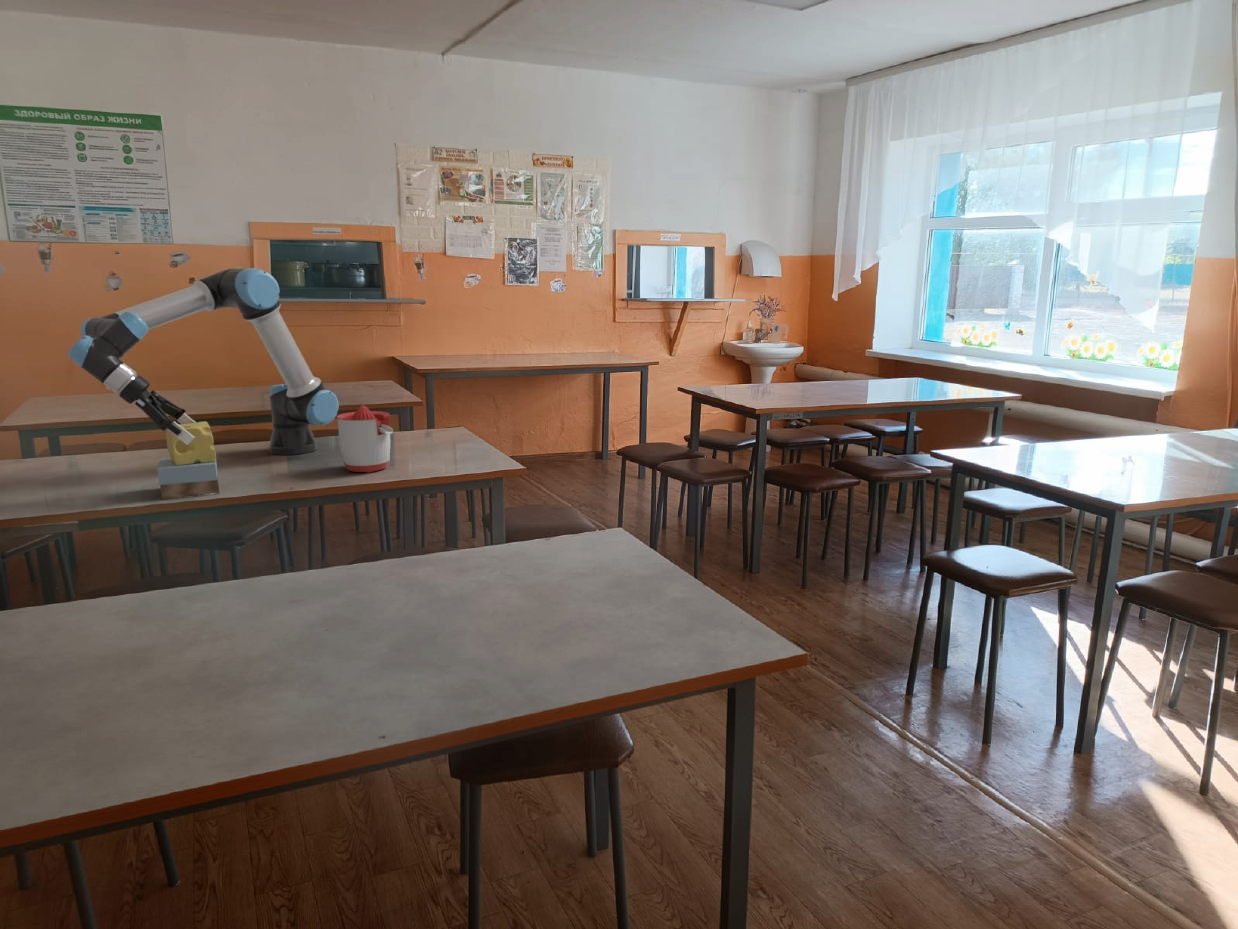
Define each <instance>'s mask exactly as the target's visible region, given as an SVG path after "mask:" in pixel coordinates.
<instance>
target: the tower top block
mask: <svg viewBox="0 0 1238 929" xmlns="http://www.w3.org/2000/svg"><path fill="white" fill-rule="evenodd" d="M156 470H157V476H158V477H157V478H158V485H159V486H160V485H167V484H178V483H189V482H200V481H212V480H217V476H218V464H217V460H216V461H215V462H206V463H201V462H196V463H193V464H186V465H175V463H174V462H173V461H172V460H171V457H164V458H160V459H159V463H158V466H157V469H156Z"/></svg>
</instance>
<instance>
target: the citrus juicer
mask: <svg viewBox="0 0 1238 929" xmlns="http://www.w3.org/2000/svg"><path fill="white" fill-rule="evenodd" d="M336 419H337V427H338V430H337V431H338V444H339V450H340V453H341V454H340V455H341V458H342V460H343V464H344V465H345V468H346V470H347V471H349V472H353V473H355V472H356V473H368V474H369V473H373V472H376V471H381V470H383V469H386V468H387V466H388V463H389V458H390V454H391V453H390V452H391V435H392V434H393V433H394V430H393V428H392V427H391V426H390V413H389V412H385V411H376V410H374V411H372V410H370V409H369V408H368V407H367V406H365V405H364V404H362V405H360V406H359V407H358V408H357V409H356V410H355V411H351V412H345V413H341V414H337V415H336Z"/></svg>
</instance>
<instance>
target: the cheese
mask: <svg viewBox="0 0 1238 929" xmlns="http://www.w3.org/2000/svg"><path fill="white" fill-rule="evenodd" d="M195 422H196V423H189V424H181V423H180V424H179V423H178V425H180V426H181V427H182V428H184V429H185V430H186V431H187V432H189V433H190V434H191V435H193V436H194V437H195V438H194V439H193V440H192V441H191V442H190V443H189V444H188V445H187V444H185V443H184V442H183V441H181V440H180V439H179V438H177V437H176V436H175V435H173V434H172V433H171V432H169V431H168V430H167V429H166V433H165V434H166V435H165V438H166V446H167V451H168V454H169V458H171V460H172V461H173V462H174V463H175V465H186V464H193V463H196V462H201V463H206V462H215V461H216V462H217V453H216V449H215V446H214V436H213V433H212V430H211V426H210V425H209V423H208V422H207V421H205V420H204V421H198V422H197V421H195Z"/></svg>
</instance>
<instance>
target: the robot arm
mask: <svg viewBox="0 0 1238 929" xmlns="http://www.w3.org/2000/svg"><path fill="white" fill-rule="evenodd" d="M281 305H282V304H281V302H280V286H279V284H278V281H277V280H276V278H274V275H272V274H271V273H269V272H268V271H265V270H263V269H258V268H254V267H252V268H251V267H249V268H229V269H223V270H221V271H218V272H215V273H213V274H210V275H208V276H205V277H204V278H200V279H198V280H195V281H194V282H192V285H191V286H188V287H186V288H182V289H180V290H177V291H174V292H170V293H167V294H165V295H162V296H159V297H157V298H153V299H150V300H147V301H144V302H141V303H138V304H136V305H133V306H130V307H127V308H125V309H122V310H118V311H115V312H113V313H110V314H106V315H104V316H101V317H91V318H87V319H86V320H85V321H83V322H82V324H81V326H80V328H79V329H80V335H81V338H79V339H78V340H77V341H76V342H75V343H74V344H73V345H72V346H71V347H70V349H69V350H68V352H67V356H68V357H69V359H71V361H73V362H74V363H75V364H76V365H77V366H79V367H80V368H81V369H82V370H84V371H85V372H87V373H88V374H89V375H91V376H92V377H94V378H95V379H96V380H98V381H99V382H100V383H102V384H103V385H104V386H105V389H106V390H108V391H109V390H111V391H112V392H113V393H114V394H118V395H119V398H121V399H122V400H124V401H125V402H127V404H130V405H131V404H133V403H134V405H136V406H137V407H138V408H139V409H141V411H143V413H144V414H146V415H147V416H148V417H149V418H150V419H151V420H152V421H153V422H154V423H155V424H156V425H157V426H158V427H159V428H160V430H162V431H163V432H165V431H167V430H168V431H169V432H171V433H172V434H173V435H175V436H176V437H177V438H179V439H180V440H181V441H183V442H184V443H185V444H187V445H188V444H189V443H190V442H191V441H192V440H193V439H194V438H195V437H194V436H193V435H191V434H190V433H189V432H187V431H186V430H185V429H184V428H182V427H181V426H180V425H179V423H180V424H189V423H196V422H197V421H196V420H194V419H192V418H191V417H190V416H189V415H187V414H186V412H187V411H186V409H185V408H181V407H179V406H178V405H176V404H175V403H173V402H171V401H170V400H169V399H167V398H165V397H163V396H162V395H160V394H159V393H157V391H155V390H151V391H149V390H148V389H149V387H150V385H151V383H150V382H149V381H148V380H146V379H145V378H144V377H143V376H141V375H137V371H136V370H134V369H132V368H131V367H130V366H129V365H127V364H126V363H125V362H123V361H122V360H121V358H122V357H123V356H124V355H126V354H127V353H128V352H129V351H130V350H131V349H132V348H133V347H134V346H135V345H137V344H138V343H139V342H140V341H142V339H143V338H144V337H145V336H146V335H147V334H148V332H149V330H153V329H155V328H159V327H161V326H163V325H166V324H169V323H171V322H174V321H177V320H180V319H183V318H185V317H189V316H191V315H193V314H197V313H199V312H202V311H206V312H212V311H215V310H218V309H226V308H237V309H238V310H239V312H240V314H241V316H242V318H243V319H244V320H245V321H246V322H250V323H251V324H252V326H253V327H254V328H255V330H256V332H257V334H258V336H259V338H260V339H261V342H262V344H263V345H264V347H265V348H266V350H267V352H268V354H269V355H270V358H271V360H272V361H273V363H274V365H275V366H276V368H277V371H278V372H279V375H280V376H281V378H282V379H283V381H284V383H283V384H273V385H272V386H270V388H269V399H270V409H271V410H270V411H271V421H272V433H271V437H270V441H269V445H268V447H269V448H268V449H269V453H271V454H273V455H283V456H285V455H286V456H289V455H290V456H291V455H300V454H306V453H311V452H314V451H317V449H318V447H317V441H316V439H315V436H314V434H313V432H312V430H311V429H312V428H311V426H310V425H312V426H326V425H328V424H330V423H331V422H332V421H333V420H334V419H336V418H337V415H338V410H339V407H340V406H339V405H340V404H339V400H338V397H337V395H336V394H335V393H334V392H333V391H331V390H328V389H326V387H325V386H324V384H323V382H322V380H321V378H319V377H316V376H314V375H313V373H312V371H311V369H310V368H309V366H308V364H307V362H306V360H305V358H304V356H303V354H302V351H301V350H300V349H299V346H298V345H297V342H296V340H295V339H294V337H293V335H292V334H291V332H290V330H289V328H288V326H287V323H286V321H284V318H283V317H282V315H281V313H280V308H281ZM169 416H170V417H172V418H174V419H175V420H176V421H177V422H178V423H177V422H176V421H172V420H171V418H170V417H169Z"/></svg>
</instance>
